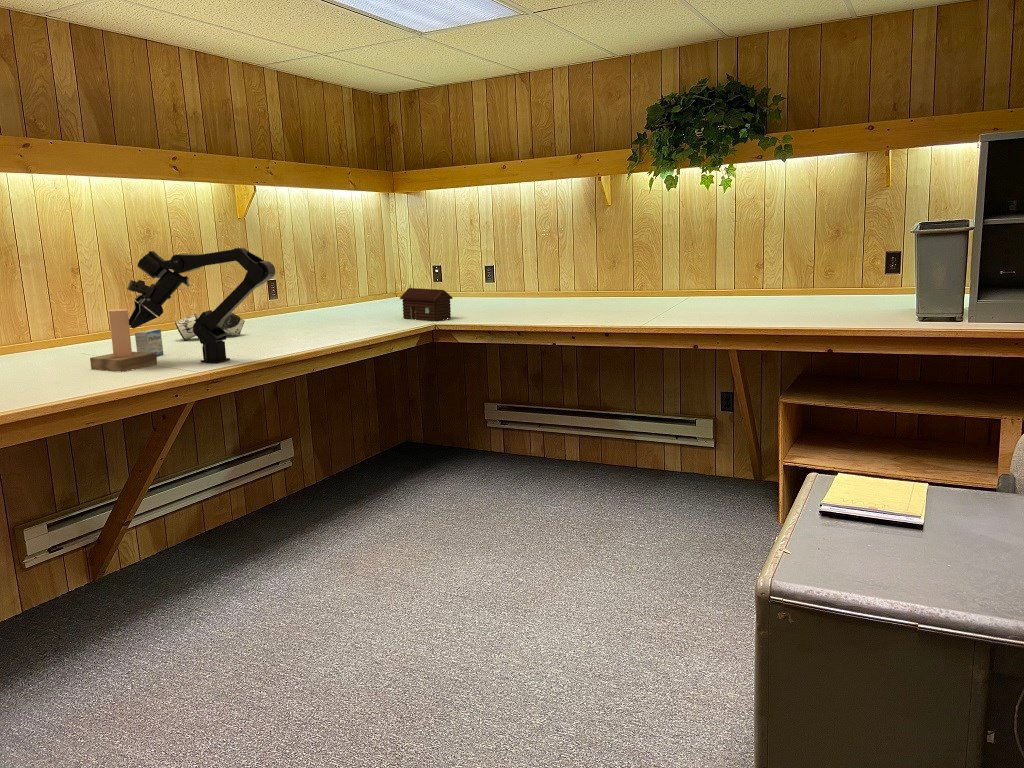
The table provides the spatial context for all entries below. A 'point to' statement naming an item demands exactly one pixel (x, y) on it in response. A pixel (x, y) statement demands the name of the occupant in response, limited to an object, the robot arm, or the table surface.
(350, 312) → the table surface
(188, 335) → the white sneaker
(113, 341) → the terracotta block
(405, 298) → the model building
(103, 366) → the walnut block
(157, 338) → the medicine box
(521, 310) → the table surface
